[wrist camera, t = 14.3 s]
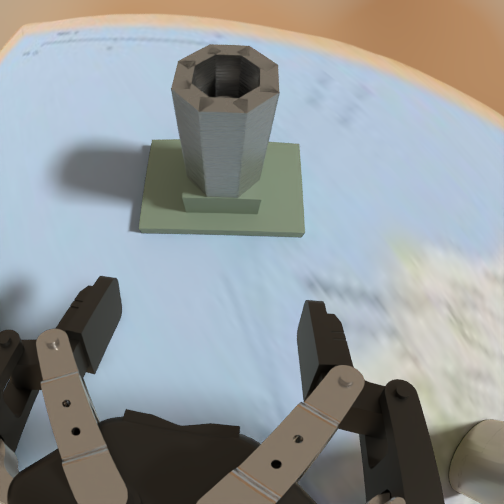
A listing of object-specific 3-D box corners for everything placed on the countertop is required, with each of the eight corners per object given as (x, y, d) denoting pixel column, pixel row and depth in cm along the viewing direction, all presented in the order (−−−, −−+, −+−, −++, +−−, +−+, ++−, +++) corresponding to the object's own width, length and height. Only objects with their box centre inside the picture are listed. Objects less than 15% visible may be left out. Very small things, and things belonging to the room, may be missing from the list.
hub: (260, 138, 26) (277, 48, 16) (259, 199, 25) (280, 116, 15) (192, 136, 26) (182, 44, 16) (185, 196, 24) (165, 112, 15)
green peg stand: (296, 150, 31) (326, 70, 20) (301, 237, 29) (344, 176, 18) (154, 146, 30) (130, 64, 19) (142, 233, 27) (99, 170, 17)
